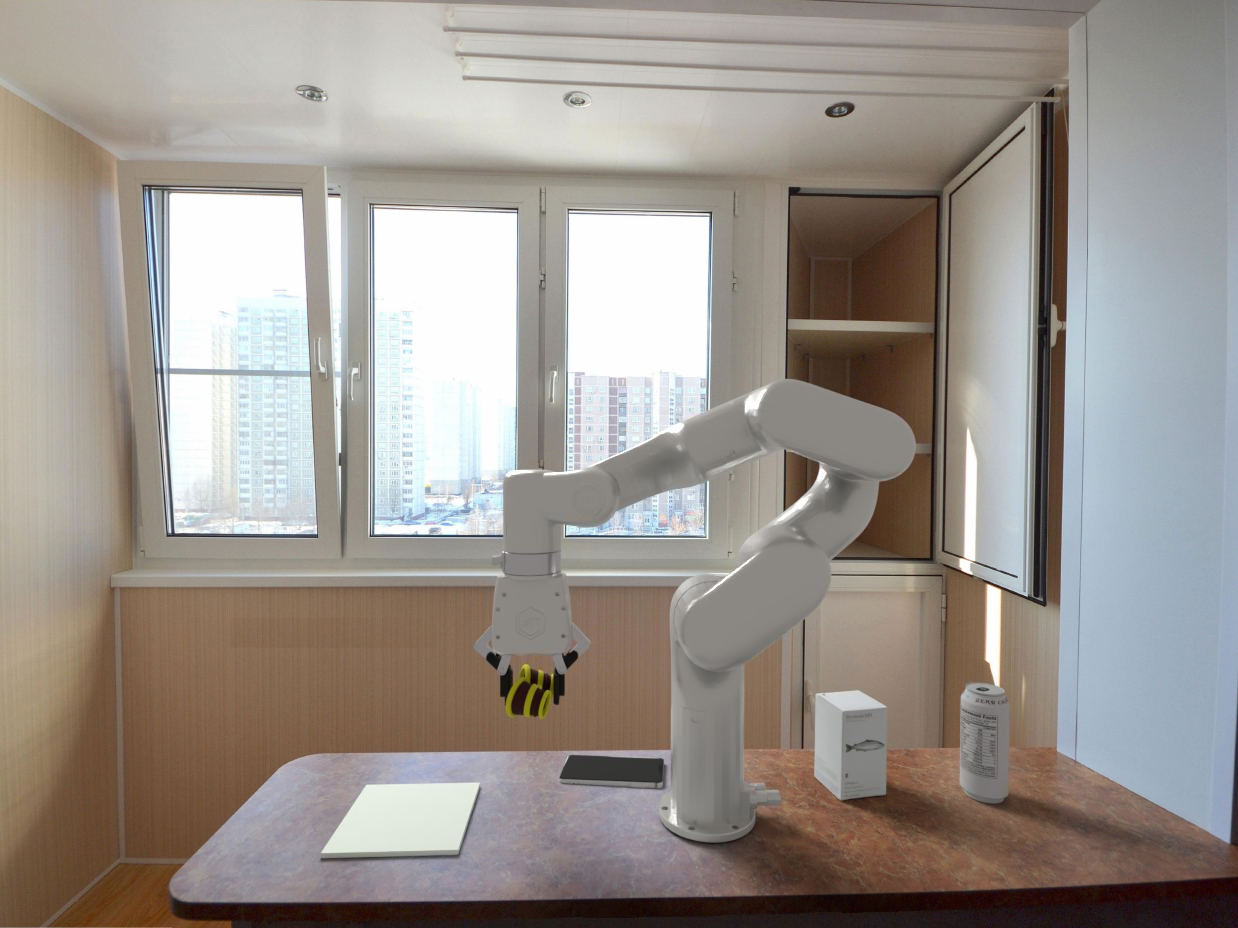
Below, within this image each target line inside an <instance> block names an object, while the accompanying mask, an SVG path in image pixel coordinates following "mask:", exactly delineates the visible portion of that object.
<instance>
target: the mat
mask: <svg viewBox="0 0 1238 928" xmlns="http://www.w3.org/2000/svg"><path fill="white" fill-rule="evenodd" d="M480 788H481V782H480V781H479V782H439V783H437V782H436V783H435V782H434V783H431V782H430V783H396V784H395V783H394V784H393V783H389V784H385V783H384V784H366V785H365V786H364V787H363V789H362V791H361V792H360V794H359V795H358V797H357V798H356V799H355V800H354V802H353V804H352V805H351V807H350V809H349V810H348V812H347V813H346V814H345V816H344V818H343V819H342V820H341V822H340V824H339V825H338V827H337V828H336V829H335V831H333V834H332V836H331V837H330V838H329V840H328V841H327V843H326V844H325V846H324V847H323V849H322V850H321V852H320V859H340V858H341V859H343V858H345V859H346V858H347V859H348V858H381V857H382V858H383V857H420V856H421V857H423V856H457V855H459V853H460V850H461V847H462V844H463V841H464V838H465V834H466V831H467V828H468V825H469V823H470V819H471V816H472V813H473V810H474V807H475V804H476V800H477V798H478V795H479V791H480Z"/></svg>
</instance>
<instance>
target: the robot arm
mask: <svg viewBox="0 0 1238 928" xmlns="http://www.w3.org/2000/svg"><path fill="white" fill-rule="evenodd" d="M916 446H917V442H916V437H915V434H914V432H913V429H912V428H911V426H910V425H909V424H908V423H907V421H905V420H904V418H902V417H901V416H900V415H898V414H896V413H895V412H892V411H890V410H888V409H885V408H882V407H879V406H877V405H874V404H871V403H867V402H865V401H861V400H859V399H856V398H853V397H850V396H847V395H844V394H841V393H839V392H836V391H832V390H830V389H826V388H825V387H821V386H819V385H815V384H813V383H809V382H806V381H802V380H798V379H791V378H783V379H777V380H775V381H772V382H769V383H767V384H766V385H764V386H760V387H758V388H756V389H754V390H752V391H750V392H747V393H745V394H743V395H742V394H741V396H738V397H736V398H733V399H731V400H729V401H726V402H724V403H722V404H720V405H717V406H714V407H713V408H710V409H708V410H706V411H704V412H701V413H699V414H696V415H694V416H692V417H689V418H687V419H684V420H682V421H680V422H677V423H675V424H673V425H671V426H669V427H668V428H665V429H663V430H662V431H660V432H659V433H657V434H656V435H655V436H653V437H651V438H649V439H647V440H646V441H643V442H641V443H639V444H637V445H635V446H633V447H631V448H629V449H625V450H624V451H621V452H619V453H617V454H615V455H612V456H611V457H607V458H605V459H604V460H601V461H599V462H595V463H592V464H591V465H589V466H587V467H584V468H580V469H576V470H569V471H560V472H557V471H553V470H551V469H550V470H549V469H515V470H511V471H509V472H507V473H506V474H505V476H504V478H503V480H502V481H503V482H502V531H503V532H502V547H503V549H502V550H503V551H502V552H501V553H500V554H497V555H492V556H491V566H492V567H493V566H494V567H495V566H496V567H498V568H500V569H501V571H502V573H500V574H498V575H497V577H496V580H495V586H494V591H493V603H492V619H491V625H490V626H489V627H488V628H487V629H486V630H485V631H484V632H483V634H482V635H481V636H480V637H479V638H478V639H477V640H476V641H475V643H474V645H473V649H474V650H475V651H476V652H477V653H478V654H479V655H480V656H481V657H483V658H484V659H485V660H486V662H488V664H490V665H491V666H492V667H493V668H494V670H495V671H496V672H497V674H498V676H499V684H500V685H499V695H500V696H499V697H500V698H504V706H505V707H506V700H507V697H508V694H509V692H510V690H511V688H512V686H513V684H514V670H513V669H512V667H511V660H512V657H513V656H550V655H551V658H552V660H553V663H554V665H555V666H554V670H553V674H554V675H553V697H552V701H553V705H555V706H559V705H560V698H561V697H564V696H565V695H566V692H565V691H566V678H565V677H566V673H567V671H568V669H569V668H571V666H573V664H574V663H575V662H576V661H577V660H578V659H579V658H580V657H581V656H582V655H583V654H584V653H585V652H586V651H587V650H589V649H590V647H591V640H590V639H589V638H588V636H586V635H585V634H584V632H582V630H581V629H580V628H579V627H578V626H577V625H576V624H575V623H574V622H573V621H572V608H571V594H570V586H569V580H568V576H567V573H566V572H564V571H562V525H563V526H564V525H565V526H571V527H578V528H598V527H600V526H603V525H604V524H606V523H608V522H609V521H610V520H611V519H612V518H613V517H614V516H615V514H616V513H617V512H619V511H621V510H623V509H626V508H628V507H630V506H632V505H634V504H636V503H639V502H641V501H644V500H647V499H649V498H651V497H654V496H657V495H660V494H664V493H667V492H670V491H674V490H680V489H688V488H692V487H695V486H698V485H702V484H704V483H706V482H710V481H712V480H714V479H716V478H718V477H720V476H723V475H726V474H727V473H730V472H732V471H735V470H737V469H739V468H741V467H744V466H746V465H748V464H750V463H753V462H755V461H758V460H760V459H762V458H765V457H767V456H769V455H771V454H774V453H776V452H779V451H781V450H786V451H788V452H791V453H793V454H795V455H799V456H802V457H803V458H807V459H809V460H811V461H813V462H814V461H815V462H818V463H819V469H818V473H817V476H816V479H815V481H814V483H813V484H812V486H811V487H810V489H808V491H807V492H805V493H804V494H803V495H802V496H801V497H800V498H799V499H798V500H797V501H796V502H794V503H793V504H792V505H791V506H789V507H788V508H786V509H785V510H784V511H783V512H782V513H781V514H779V515H777V516H776V517H775V518H773V519H772V520H771V521H770V522H769V523H767V524H766V525H764V526H763V527H762V528H760V529H758V530H757V531H755V532H754V533H752V534H751V535H750V536H749V537H748V538H747V539H746V540H745V541H744V542H743V544H742V545H741V546H740V548H739V550H738V553H737V558H736V559H737V560H736V566H737V567H736V568H735V569H734V570H733V571H730V573H729V574H727V575H726V576H725V577H723V578H722V577H720V576H717V575H715V574H706V573H705V574H704V573H703V574H696V575H694V576H691V577H688V579H686V580H684V581H683V582H682V583H681V584H680V585H679V586H678V588H676V591H675V592H674V594H673V595H672V598H671V602H670V605H669V606H670V608H669V637H670V640H669V641H670V672H671V673H670V679H671V680H670V683H671V684H670V685H671V686H670V687H671V688H670V690H671V691H670V695H671V696H670V790H669V791H668V792H665V794H663V796H662V797H661V798H660V799H659V803H658V816H659V819H660V821H661V823H662V824H663V825H664V827H666V828H667V829H668V830H670V831H671V832H672V833H674V834H676V835H678V836H679V837H682V838H684V839H688V840H691V841H695V842H703V843H711V844H712V843H714V844H715V843H727V842H731V841H734V840H735V841H736V840H737V839H740V838H742V837H744V836H746V835H747V834H749V833H750V831H752V830H753V828H754V826H755V824H756V810H757V809H758V807H763V806H764V807H780V806H781V805H782V804H781V803H782V798H781V793H780V790H779V789H767V787H766V784H765V783H766V782H755V783H748V781H746V780H745V779H744V778H745V777H744V775H745V774H744V773H745V772H744V770H745V769H744V768H745V767H744V761H745V760H744V758H745V757H744V756H745V754H744V752H745V749H744V748H745V745H744V743H745V735H744V734H745V665H746V664H747V663H749V662H750V661H752V660H753V659H755V658H756V657H758V655H760V654H761V653H762V652H764V651H765V650H767V649H768V648H770V647H771V645H773V644H774V643H776V642H777V641H778V640H779V639H782V637H784V636H785V635H786V634H787V633H788V632H790V631H792V630H793V629H794V628H795V627H796V626H798V625H799V624H800V623H801V622H802V621H804V620H806V619H807V617H809V616H810V615H811V614H812V613H813V612H814V611H815V610H817V608H818V607H819V606H820V605H821V604H822V603H823V600H824V599H825V598H826V596H827V593H828V592H829V590H830V586H831V583H832V582H831V581H832V567H831V563H830V562H831V561H832V560H833V559H834V558H835V557H836V556H838V555H839V554H840V553H841V552H842V551H843V550H844V549H846V548H847V547H849V545H851V544H852V543H853V542H854V541H855V540H856V539H857V538H858V537H859V536H861V534H862V533H863V531H864V530H865V529H866V528H867V527H868V525H869V523H870V521H871V519H872V517H873V515H874V512H875V509H876V506H877V503H878V502H877V501H878V496H879V490H880V489H879V487H880V483H881V482H886V481H890V480H892V479H895V478H897V477H899V476H900V475H901V474H903V473H904V472H905V471H906V470H908V468H909V467H910V465H911V464H912V462H913V460H914V458H915V454H916V450H917V447H916ZM572 639H573V640H574V641H575V643H576V645H575V646H574V647H573V648H570V647H571V644H572ZM490 642H491V646H490V645H489V643H490ZM566 652H567V653H566ZM565 653H566V654H565ZM501 655H502V656H501Z"/></svg>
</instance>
